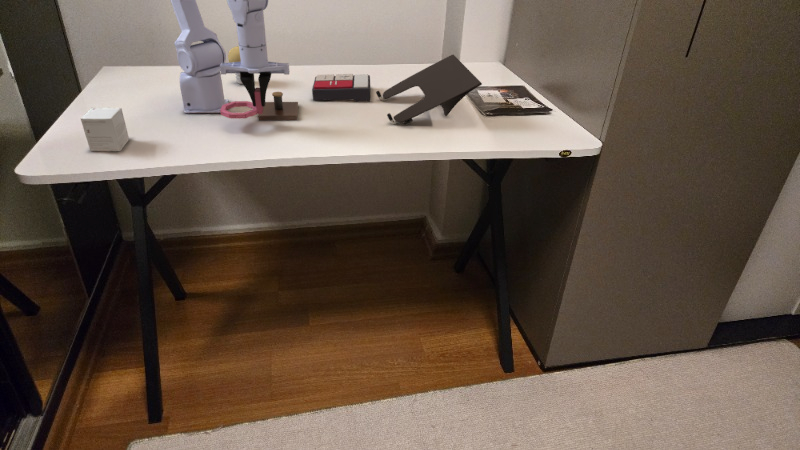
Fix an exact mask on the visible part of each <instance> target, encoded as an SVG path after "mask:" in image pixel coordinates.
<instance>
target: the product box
mask: <svg viewBox="0 0 800 450" xmlns="http://www.w3.org/2000/svg"><path fill="white" fill-rule="evenodd" d="M80 121H81V125H82V129H83V131H84V135H85V138H86V141H87V145H88V148H89V150H90V151H91V152H121V151H122V150H123V148H124V147H125V146H126V144H127V143H128V141H129V140H130V136H129V133H128V128H127V124H126V120H125V117H124V113H123V109H122V108H121V107H91V108H90V109H89V110H87V111H86V113H85V114H83V115H82V116H81V117H80Z"/></svg>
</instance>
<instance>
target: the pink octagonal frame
mask: <svg viewBox="0 0 800 450" xmlns="http://www.w3.org/2000/svg"><path fill="white" fill-rule="evenodd" d="M254 93H255V102H256V106H253V103H252V101H249V100H234V101H231V102H230V101H229V103H227V104H224V105H222V107H221V110H220V112H221V113H220V115H221V116H223V117H225V118H228V119H230V120H232V119H233V120H234V119H236V120H237V119H248V118H250V117H254V116H256V115H259V114H262V112H263V106H262V105H261V92H260V87H255V92H254ZM242 107H243V108H249V109H250V110H247V111H244V112H231V111H229V110H230V109H234V108H242Z"/></svg>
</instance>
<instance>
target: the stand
mask: <svg viewBox="0 0 800 450" xmlns="http://www.w3.org/2000/svg"><path fill="white" fill-rule="evenodd" d="M271 95H272V96H273V101H265V106H263V112H262V114H258V121H298V115H299V101H283V95H284V93H283V92H281V91H274V92H272V93H271Z"/></svg>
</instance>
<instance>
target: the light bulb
mask: <svg viewBox="0 0 800 450" xmlns="http://www.w3.org/2000/svg"><path fill="white" fill-rule="evenodd" d="M227 60H228V63H231V62H241V59H240V51H239V45H236V46H234V47H232V48H230V49H229V51H228V54H227ZM234 74H235V78H236V79H235V80H236V83H237V84H239V85H243V83H242V82H241V80H240V73H234Z"/></svg>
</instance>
